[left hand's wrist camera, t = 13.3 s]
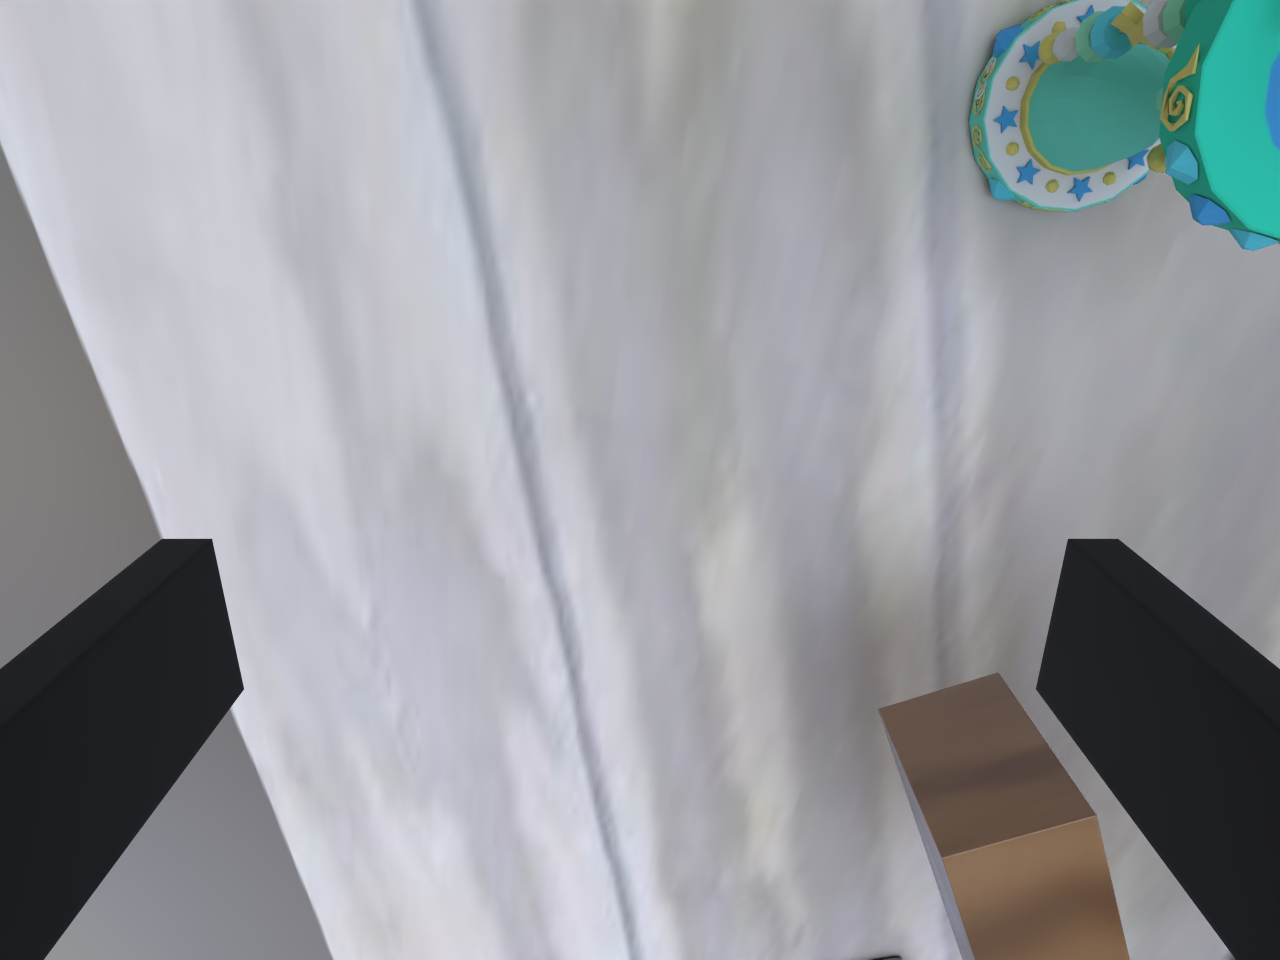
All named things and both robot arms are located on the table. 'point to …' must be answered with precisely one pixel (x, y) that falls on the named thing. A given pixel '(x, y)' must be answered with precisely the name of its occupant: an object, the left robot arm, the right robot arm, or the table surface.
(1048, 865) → the box
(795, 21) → the table surface
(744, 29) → the table surface
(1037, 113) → the decorative hourglass
